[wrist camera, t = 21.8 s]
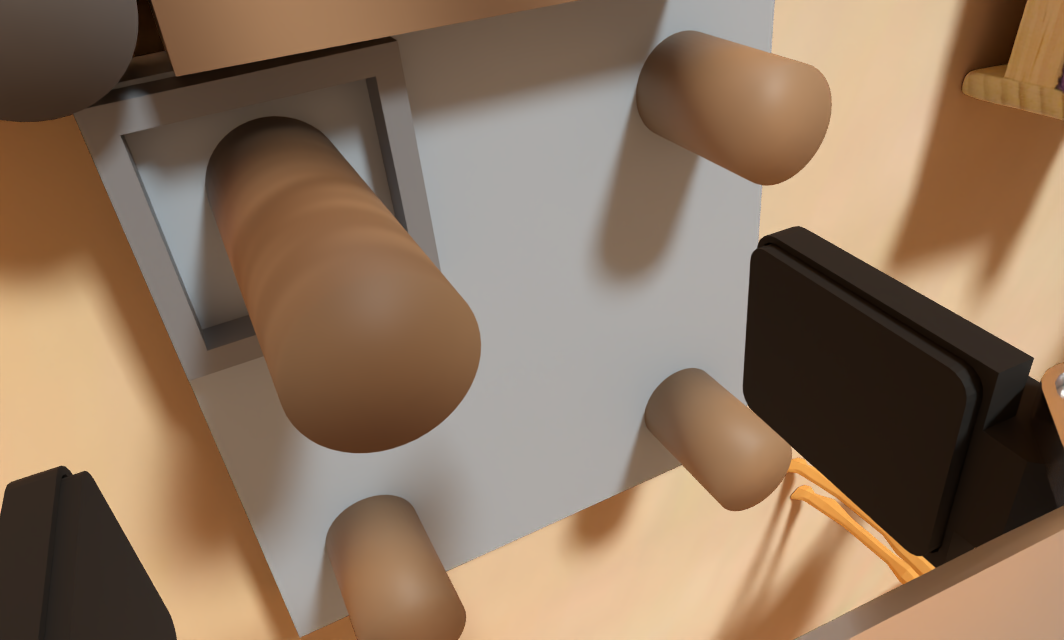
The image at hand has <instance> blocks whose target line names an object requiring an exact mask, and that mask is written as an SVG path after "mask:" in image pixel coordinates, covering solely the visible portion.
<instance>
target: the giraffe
mask: <svg viewBox="0 0 1064 640" xmlns="http://www.w3.org/2000/svg"><path fill="white" fill-rule="evenodd" d="M787 472H791V473H798V474H800V475H801V476H803V477H805V478H806V479H808V480H810V481H811V482H813V483H814V484H816V485H818V486H819V487H821V488H822V489H824V490H825V491H827V492H828V493H830V494H832V495H833V496H835V497H836V498H838V499H839V500H840V501H841V502H843V503H844V504H845V505H846V506H848V507H849V508H850V509H851V510H852V511H854V512H855V513H856V514H857V515H859V516H860V517H861V518H862V519H864V520H865V521H866V522H867V523H868V524H870V525H871V526H872V527H873V528H875V529H876V530H877V531H878V532H880V533H881V534H882V535H883V536H884V537H885V539H886V540H887V542H888V543H889V544H890V546H891V547H892V548H893V550H894V551H895V553H896V554H897V555H898V556H900V557H901V558H902V559H903V560H902V559H900V558H899V557H897V556H896V555H895V554H894V553H892V552H891V551H890V550H889V549H888V548H887V547H885V546H884V545H883V544H882V543H881V542H879V541H878V540H877V539H876V538H875V537H873V536H872V535H871V534H870V533H869V532H868V531H866V530H865V529H864V528H863V527H862V526H860V525H859V524H858V523H857V522H856V521H854V520H853V519H852V518H851V517H850V516H849V515H848V514H847V512H846V511H845V510H844V509H843V508H842V507H841V506H840V505H839V504H838V503H837V502H836V501H835V500H834V499H831V498H827V497H824V496H820V495H818V494H815V493H814V491H813V490H812V488H811V487H809V486H806V485H804V486H801V487H798V488H797V490H796V491H795V492H794V493H793V494H792V495H791V499H795V500H803V501H805V502H807V503H808V504H810V505H811V506H813V507H814V508H816V509H818V510H819V511H821V512H822V513H824V514H825V515H827V516H828V517H830V518H831V519H832V520H834V521H835V522H837V523H838V524H840V525H841V526H843V527H844V528H845V529H846V530H848V531H849V532H850V533H851V534H852V535H854V536H855V537H856V538H857V539H858V540H860V541H861V542H862V543H863V544H864V545H865V546H867V547H868V548H869V549H870V550H871V551H873V552H874V553H875V554H876V555H877V556H878V557H880V558H881V559H882V560H883V561H884V562H886V563H887V564H888V566H889V567H890V569H891V570H892V571H893V573H894V574H895V576H896V577H897V578H898V580H899V581H900V582H901V583H902V584H905V583H907V582H909V581H911V580H913V579H915V578H917V577H919V576H921V575H923V574H925V573H927V572H929V571H931V570H933V569H935V567H934V566H933V565H932V564H931V563H929V562H928V561H927V560H926V559H925V558H924V557H923V556H915V555H913V554H911V553H909V552H908V551H907V550H905V549H904V548H903V547H902V546H901V545H900V544H899V543H897V542H896V541H895V540H894V539H893V538H892V537H891V536H890V535H889V534H888V533H886V532H885V531H884V530H883V529H882V528H881V527H880V526H879V525H878V524H876V523H875V522H874V521H873V520H872V519H871V518H870V517H869V516H868V515H867V514H865V513H864V512H863V511H862V510H861V509H860V508H859V507H858V506H857V505H856V504H854V503H853V502H852V501H851V500H850V499H849V498H848V497H847V496H846V495H844V494H843V493H842V492H841V491H840V490H839V489H838V488H837V487H836V486H835V485H833V484H832V483H831V482H830V481H829V480H828V479H827V478H826V477H825V476H824V475H822V474H821V473H820V472H819V471H818V470H817V469H816V468H815V467H812V466H809V465H808V464H807V463H806V461H805V459H801V458H795V459H792V460H791V463H790V467H789V469H788V471H787Z"/></svg>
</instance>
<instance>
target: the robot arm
mask: <svg viewBox="0 0 1064 640" xmlns="http://www.w3.org/2000/svg"><path fill="white" fill-rule="evenodd" d="M1033 359H1034V358H1033V357H1031V356H1030V355H1028V354H1026V353H1024V352H1022V351H1021V350H1019V349H1017V348H1015V347H1014V346H1012V345H1010V344H1008V343H1007V342H1005V341H1003V340H1001V339H999V338H998V337H996V336H994V335H992V334H991V333H989V332H987V331H985V330H984V329H982V328H980V327H978V326H977V325H975V324H973V323H971V322H969V321H968V320H966V319H964V318H962V317H961V316H959V315H957V314H955V313H954V312H952V311H950V310H948V309H947V308H945V307H943V306H941V305H939V304H938V303H936V302H934V301H932V300H931V299H929V298H927V297H925V296H924V295H922V294H920V293H918V292H916V291H915V290H913V289H911V288H909V287H908V286H906V285H904V284H902V283H901V282H899V281H897V280H895V279H894V278H892V277H890V276H888V275H886V274H885V273H883V272H881V271H879V270H878V269H876V268H874V267H872V266H871V265H869V264H867V263H865V262H863V261H862V260H860V259H858V258H856V257H855V256H853V255H851V254H849V253H848V252H846V251H844V250H842V249H841V248H839V247H837V246H835V245H833V244H832V243H830V242H828V241H826V240H825V239H823V238H821V237H819V236H818V235H816V234H814V233H812V232H810V231H809V230H807V229H805V228H803V227H800V226H797V227H791V228H788V229H785V230H782V231H779V232H776V233H773V234H770V235H767V236H764V237H763V238H762V239H760V241H759V243H758V246H757V249H756V250H754V251H753V253H752V254H751V259H750V272H749V289H748V305H747V322H746V338H745V355H744V371H743V395H744V398H745V400H746V403H747V404H748V406H749V408H750V409H751V410H752V411H753V412H754V413H755V414H756V415H757V416H758V417H760V418H761V419H762V420H763V421H764V422H765V423H766V424H767V425H768V426H769V427H771V428H772V429H773V430H774V431H775V432H776V433H777V434H778V435H779V436H780V437H782V438H783V439H784V440H785V441H786V442H787V443H788V444H789V445H790V446H792V447H793V448H794V449H795V450H796V451H797V452H798V453H799V454H800V455H801V456H803V457H804V458H805V459H806V460H807V461H808V462H809V463H810V464H811V465H812V466H814V467H815V468H816V469H817V470H818V471H819V472H820V473H821V474H822V475H824V476H825V477H826V478H827V479H828V480H829V481H830V482H831V483H832V484H833V485H835V486H836V487H837V488H838V489H839V490H840V491H841V492H842V493H843V494H844V495H846V496H847V497H848V498H849V499H850V500H851V501H852V502H853V503H854V504H856V505H857V506H858V507H859V508H860V509H861V510H862V511H863V512H864V513H865V514H867V515H868V516H869V517H870V518H871V519H872V520H873V521H874V522H875V523H876V524H878V525H879V526H880V527H881V528H882V529H883V530H884V531H885V532H886V533H888V534H889V535H890V536H891V537H892V538H893V539H894V540H895V541H896V542H897V543H899V544H900V545H901V546H902V547H903V548H904V549H905V550H907V551H908V552H909V553H911V554H913V555H915V556H923V557H924V558H925V559H926V560H927V561H928V562H929V563H931V564H932V565H933V566H934V567H935V569H933V570H931V571H929V572H927V573H925V574H923V575H921V576H919V577H917V578H915V579H913V580H911V581H909V582H907V583H905V584H903V585H901V586H899V587H897V588H895V589H893V590H891V591H889V592H887V593H885V594H883V595H881V596H879V597H877V598H875V599H873V600H871V601H869V602H867V603H865V604H863V605H861V606H859V607H857V608H855V609H853V610H851V611H849V612H847V613H845V614H843V615H842V616H840V617H838V618H836V619H834V620H832V621H830V622H828V623H826V624H824V625H822V626H820V627H818V628H816V629H814V630H812V631H810V632H808V633H806V634H804V635H802V636H800V637H798V638H796V639H794V640H1064V363H1059V364H1057V365H1055V366H1053V367H1051V368H1049V369H1048V370H1047V371H1046V372H1045V374H1044V375H1043V377H1042V378H1041V381H1040V382H1038V381H1036V380H1035V379H1033V378H1031V377H1030V376H1028V375H1029V372H1030V369H1031V366H1032V363H1033ZM974 548H975V549H974ZM0 640H177V637H176V632H175V628H174V624H173V621H172V618H171V616H170V614H169V612H168V610H167V608H166V606H165V604H164V603H163V601H162V599H161V597H160V595H159V594H158V592H157V590H156V588H155V587H154V585H153V583H152V581H151V580H150V578H149V576H148V574H147V573H146V571H145V569H144V567H143V565H142V564H141V562H140V560H139V558H138V557H137V555H136V553H135V551H134V550H133V548H132V546H131V544H130V542H129V541H128V539H127V537H126V535H125V534H124V532H123V530H122V528H121V527H120V525H119V523H118V521H117V520H116V518H115V516H114V514H113V512H112V511H111V509H110V507H109V505H108V504H107V502H106V500H105V498H104V497H103V495H102V493H101V491H100V489H99V488H98V486H97V484H96V482H95V481H94V479H93V478H92V476H91V475H90V474H89V473H88V472H87V471H83V472H80V473H77V474H74V475H72V473H71V472H70V470H68V469H67V468H66V467H65V466H59V467H56V468H53V469H50V470H47V471H44V472H40V473H37V474H34V475H31V476H28V477H25V478H22V479H19V480H16V481H13V482H10V483H9V484H8V485H7V487H6V489H5V493H4V498H3V504H2V509H1V514H0Z"/></svg>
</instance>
